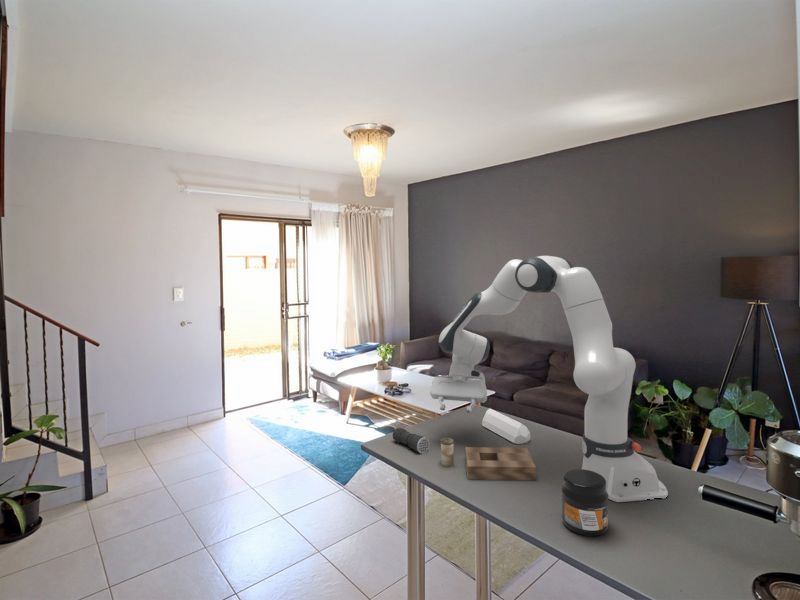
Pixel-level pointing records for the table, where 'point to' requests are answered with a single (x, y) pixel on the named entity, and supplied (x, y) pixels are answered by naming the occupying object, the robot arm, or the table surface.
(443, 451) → the beech pin
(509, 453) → the socket block
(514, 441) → the white faceted prism
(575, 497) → the supplement container
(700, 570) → the table surface
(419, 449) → the flashlight
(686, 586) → the table surface
